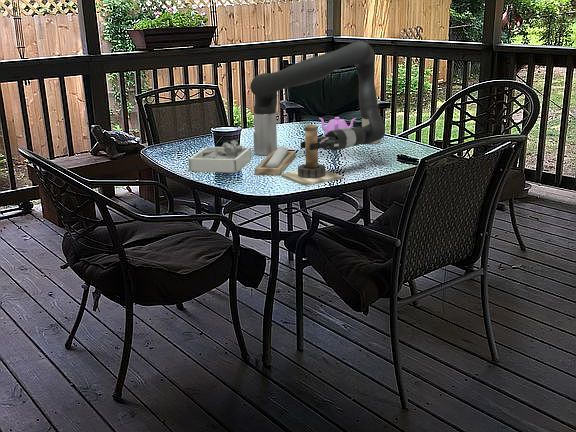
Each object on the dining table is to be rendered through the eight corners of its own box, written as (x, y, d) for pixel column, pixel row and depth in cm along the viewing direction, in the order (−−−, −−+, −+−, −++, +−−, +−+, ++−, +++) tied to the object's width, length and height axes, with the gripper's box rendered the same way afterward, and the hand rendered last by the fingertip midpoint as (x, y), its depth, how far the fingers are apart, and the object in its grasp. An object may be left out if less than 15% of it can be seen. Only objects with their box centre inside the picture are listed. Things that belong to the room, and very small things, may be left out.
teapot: (318, 135, 316) (318, 117, 313) (341, 132, 323) (341, 113, 320) (333, 139, 306) (333, 120, 303) (356, 135, 313) (356, 116, 310)
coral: (247, 163, 265) (246, 138, 262) (235, 171, 252) (234, 146, 249) (207, 161, 269) (206, 137, 266) (194, 169, 257) (192, 144, 254)
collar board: (305, 185, 230) (305, 174, 229) (281, 176, 243) (281, 165, 242) (342, 178, 238) (342, 167, 237) (317, 170, 251) (317, 159, 250)
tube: (280, 163, 247) (289, 148, 270) (266, 158, 247) (277, 144, 270) (276, 176, 249) (286, 160, 272) (262, 171, 249) (273, 156, 272)
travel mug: (361, 140, 301) (361, 101, 295) (378, 140, 300) (379, 100, 295) (362, 144, 293) (362, 103, 288) (380, 144, 293) (381, 103, 287)
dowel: (304, 170, 238) (303, 127, 233) (307, 167, 242) (305, 124, 237) (317, 171, 237) (316, 127, 232) (319, 168, 241) (318, 124, 236)
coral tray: (189, 171, 254) (188, 158, 252) (207, 158, 274) (206, 146, 273) (236, 172, 250) (236, 159, 249) (251, 159, 271) (250, 147, 269)
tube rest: (254, 174, 246) (254, 168, 246) (273, 156, 275) (272, 150, 274) (279, 175, 245) (279, 169, 244) (295, 156, 273) (295, 151, 272)
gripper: (327, 126, 249) (292, 133, 239) (354, 131, 239) (318, 138, 229) (328, 146, 252) (293, 153, 242) (354, 151, 241) (318, 159, 231)
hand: (305, 146), depth 235 cm, fingers closed on dowel, 4 cm apart
